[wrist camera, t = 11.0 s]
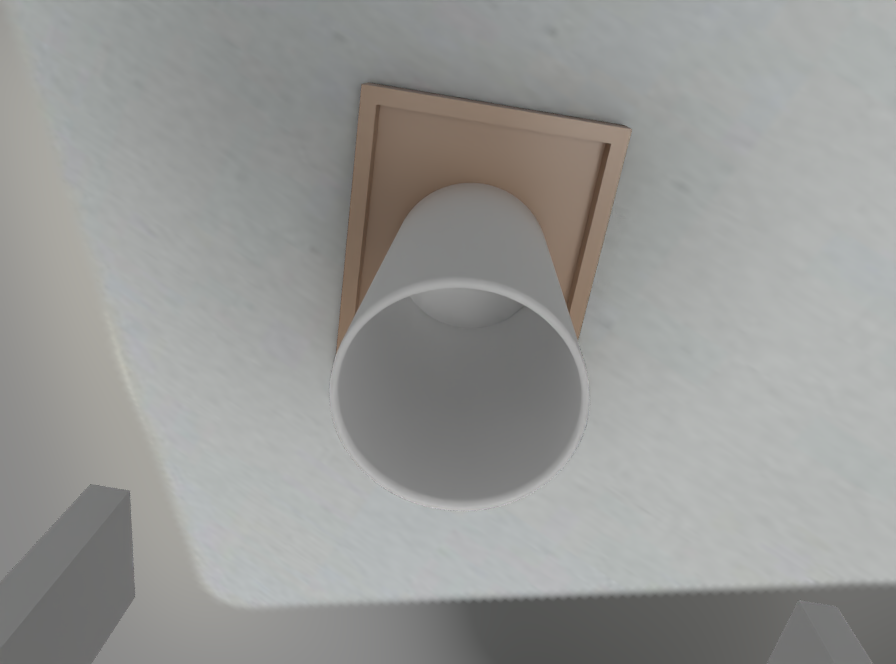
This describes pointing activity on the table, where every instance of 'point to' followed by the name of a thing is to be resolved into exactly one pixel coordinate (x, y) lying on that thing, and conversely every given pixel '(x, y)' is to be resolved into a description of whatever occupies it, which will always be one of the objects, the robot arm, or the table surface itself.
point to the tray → (480, 178)
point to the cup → (462, 358)
